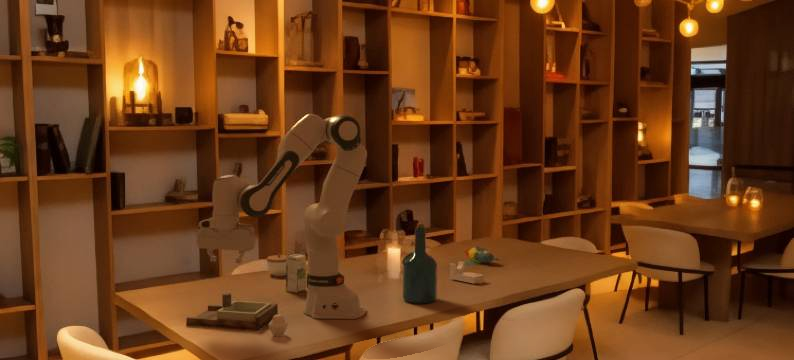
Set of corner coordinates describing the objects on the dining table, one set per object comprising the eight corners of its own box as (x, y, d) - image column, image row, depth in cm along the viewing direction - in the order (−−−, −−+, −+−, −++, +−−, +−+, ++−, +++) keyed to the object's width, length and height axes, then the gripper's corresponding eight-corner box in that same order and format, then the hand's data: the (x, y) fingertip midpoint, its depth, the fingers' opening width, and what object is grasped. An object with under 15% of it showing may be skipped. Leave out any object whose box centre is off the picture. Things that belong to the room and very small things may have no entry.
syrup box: (294, 288, 298) (294, 253, 297) (306, 290, 295) (306, 255, 294) (285, 291, 293) (285, 255, 292) (297, 293, 290) (297, 257, 289)
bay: (277, 316, 258) (277, 303, 257) (258, 330, 241) (258, 317, 240) (209, 311, 263) (209, 299, 262) (186, 325, 246) (186, 312, 245)
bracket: (449, 280, 315) (450, 263, 315) (459, 278, 321) (460, 261, 320) (473, 285, 307) (474, 268, 306) (483, 283, 312) (484, 265, 311)
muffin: (291, 335, 236) (291, 314, 235) (276, 339, 232) (276, 318, 231) (279, 331, 240) (279, 310, 240) (264, 335, 236) (264, 314, 235)
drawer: (271, 314, 256) (271, 291, 255) (255, 325, 243) (255, 301, 242) (231, 311, 259) (231, 289, 258) (214, 322, 246) (213, 299, 245)
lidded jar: (287, 277, 317) (287, 256, 316) (263, 276, 319) (263, 255, 318) (294, 272, 327) (294, 252, 327) (271, 271, 329) (271, 251, 328)
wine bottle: (428, 294, 290) (429, 220, 287) (442, 303, 277) (443, 225, 275) (396, 297, 285) (396, 221, 282) (409, 306, 273) (409, 227, 270)
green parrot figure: (488, 241, 366) (510, 246, 354) (487, 258, 367) (510, 263, 355) (447, 247, 348) (469, 252, 336) (446, 264, 349) (468, 271, 337)
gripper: (258, 222, 250) (258, 262, 251) (202, 219, 254) (203, 258, 255) (250, 225, 244) (250, 265, 245) (194, 222, 248) (194, 262, 249)
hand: (226, 262), depth 250 cm, fingers open, 8 cm apart
